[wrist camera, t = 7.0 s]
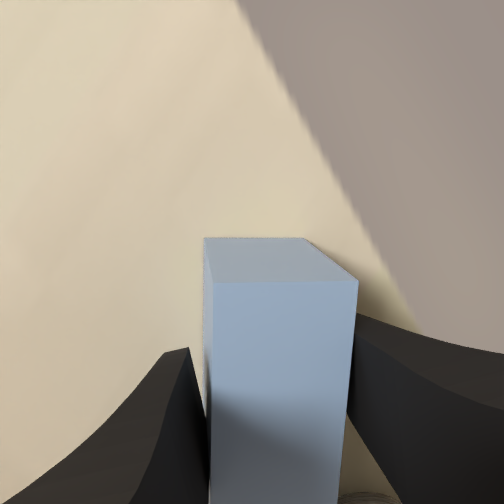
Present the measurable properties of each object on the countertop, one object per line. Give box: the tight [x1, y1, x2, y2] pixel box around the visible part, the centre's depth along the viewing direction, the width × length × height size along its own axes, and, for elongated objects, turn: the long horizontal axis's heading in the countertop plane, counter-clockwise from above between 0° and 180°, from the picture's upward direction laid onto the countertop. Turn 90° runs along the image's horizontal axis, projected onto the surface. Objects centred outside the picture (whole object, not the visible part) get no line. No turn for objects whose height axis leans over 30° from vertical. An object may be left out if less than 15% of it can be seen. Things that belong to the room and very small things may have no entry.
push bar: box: [203, 238, 359, 504], centre depth 11 cm, size 3×14×4 cm, turn 178°
